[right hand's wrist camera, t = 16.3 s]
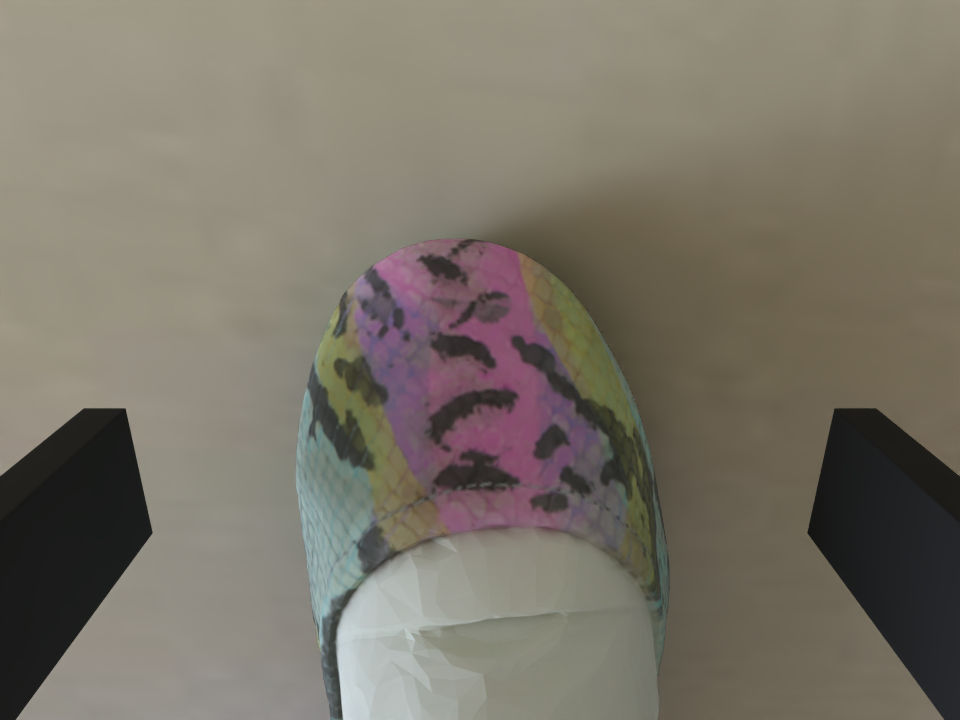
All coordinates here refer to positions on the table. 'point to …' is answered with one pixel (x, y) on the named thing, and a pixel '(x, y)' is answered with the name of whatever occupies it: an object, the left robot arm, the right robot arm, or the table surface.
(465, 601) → the ballet flat
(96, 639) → the table surface
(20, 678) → the right robot arm
